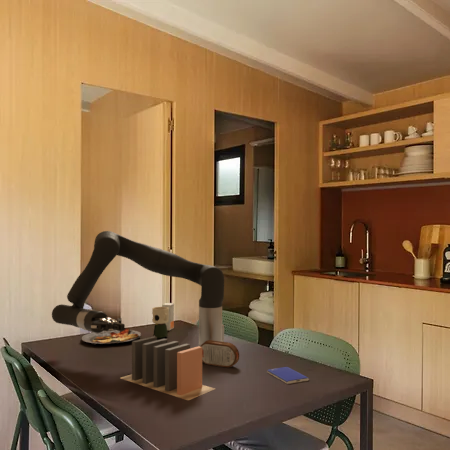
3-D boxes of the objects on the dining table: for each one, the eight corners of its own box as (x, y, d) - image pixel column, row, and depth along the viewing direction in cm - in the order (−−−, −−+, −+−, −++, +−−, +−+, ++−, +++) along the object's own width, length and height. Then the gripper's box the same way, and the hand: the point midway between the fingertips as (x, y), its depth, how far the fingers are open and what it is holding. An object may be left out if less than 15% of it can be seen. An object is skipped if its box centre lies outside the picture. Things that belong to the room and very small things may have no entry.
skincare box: (170, 330, 220) (170, 305, 220) (161, 330, 221) (161, 304, 221) (174, 327, 226) (174, 303, 226) (165, 327, 227) (165, 302, 227)
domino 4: (164, 390, 138) (165, 349, 138) (186, 382, 145) (186, 343, 145) (168, 391, 137) (168, 350, 137) (190, 383, 144) (190, 344, 144)
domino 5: (177, 394, 135) (177, 352, 135) (198, 385, 142) (198, 346, 142) (181, 395, 134) (181, 353, 134) (202, 387, 141) (202, 347, 141)
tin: (239, 367, 164) (239, 343, 164) (236, 369, 161) (236, 345, 161) (201, 361, 170) (201, 338, 170) (197, 364, 168) (197, 340, 168)
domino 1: (131, 379, 148) (132, 341, 148) (153, 372, 155) (153, 336, 155) (135, 380, 147) (135, 342, 147) (156, 373, 154) (156, 336, 154)
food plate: (137, 331, 218) (137, 324, 218) (145, 344, 195) (145, 336, 195) (81, 337, 210) (81, 329, 210) (82, 351, 188) (82, 342, 188)
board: (119, 380, 149) (119, 378, 149) (148, 371, 159) (148, 369, 159) (188, 403, 130) (188, 400, 130) (216, 391, 140) (216, 388, 140)
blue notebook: (267, 369, 158) (287, 380, 147) (287, 366, 161) (308, 377, 150) (267, 374, 158) (287, 385, 147) (287, 370, 161) (308, 382, 150)
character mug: (147, 336, 209) (147, 307, 209) (161, 334, 213) (161, 305, 213) (159, 341, 200) (159, 310, 200) (174, 338, 205) (174, 308, 205)
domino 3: (153, 386, 142) (153, 346, 142) (174, 379, 149) (174, 340, 149) (157, 387, 141) (157, 347, 141) (178, 380, 148) (178, 341, 148)
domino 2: (142, 382, 145) (142, 343, 145) (163, 375, 152) (163, 338, 152) (145, 384, 144) (146, 344, 144) (167, 376, 151) (167, 339, 151)
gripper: (107, 328, 173) (138, 335, 162) (75, 334, 163) (106, 342, 152) (107, 307, 173) (138, 313, 162) (76, 312, 163) (106, 319, 152)
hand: (122, 327), depth 157 cm, fingers closed
